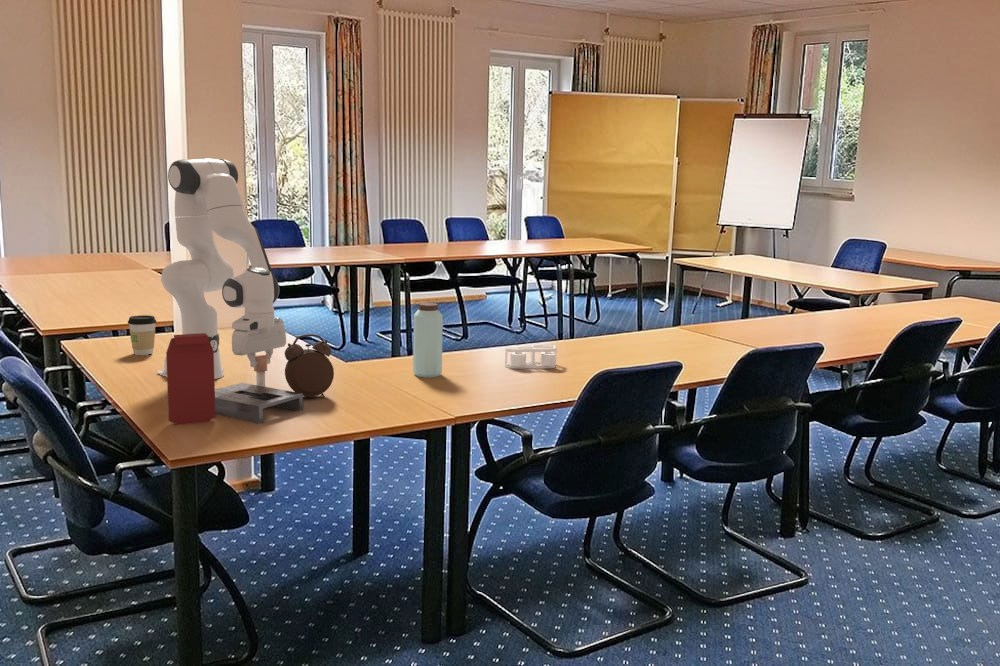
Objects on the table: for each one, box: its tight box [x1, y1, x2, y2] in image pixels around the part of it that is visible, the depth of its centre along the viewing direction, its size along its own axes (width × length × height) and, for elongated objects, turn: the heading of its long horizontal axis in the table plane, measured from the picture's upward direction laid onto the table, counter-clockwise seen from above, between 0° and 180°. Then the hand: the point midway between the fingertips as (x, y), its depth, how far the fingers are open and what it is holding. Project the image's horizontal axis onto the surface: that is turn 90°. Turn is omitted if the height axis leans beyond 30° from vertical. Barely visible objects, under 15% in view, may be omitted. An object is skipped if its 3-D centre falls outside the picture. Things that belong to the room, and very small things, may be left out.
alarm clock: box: [284, 333, 335, 398], centre depth 284 cm, size 15×7×20 cm, turn 115°
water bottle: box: [412, 302, 444, 379], centre depth 319 cm, size 10×10×25 cm
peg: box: [253, 354, 268, 387], centre depth 286 cm, size 5×5×12 cm
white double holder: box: [504, 344, 558, 370], centre depth 340 cm, size 20×11×7 cm, turn 100°
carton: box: [165, 333, 216, 425], centre depth 251 cm, size 12×5×25 cm, turn 117°
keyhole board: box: [215, 382, 304, 425], centre depth 269 cm, size 18×24×5 cm
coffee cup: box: [127, 314, 157, 356], centre depth 337 cm, size 10×10×15 cm
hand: (260, 365), depth 286 cm, fingers closed on peg, 4 cm apart
